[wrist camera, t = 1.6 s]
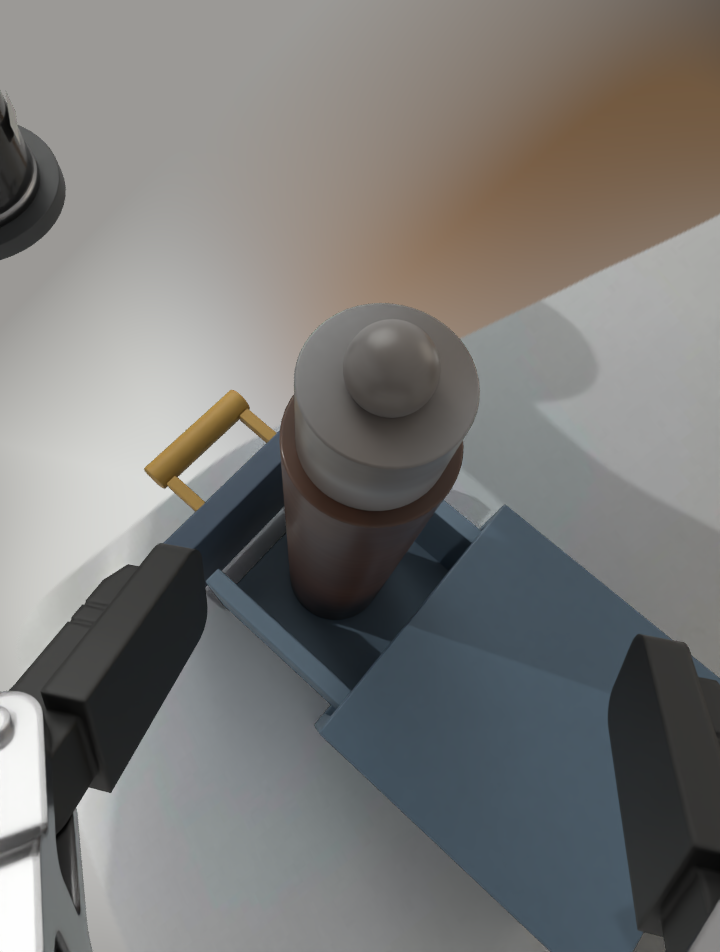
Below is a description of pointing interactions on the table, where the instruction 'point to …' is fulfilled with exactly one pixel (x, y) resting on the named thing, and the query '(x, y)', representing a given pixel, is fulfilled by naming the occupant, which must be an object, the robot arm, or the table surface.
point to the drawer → (268, 583)
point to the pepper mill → (369, 448)
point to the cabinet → (509, 733)
